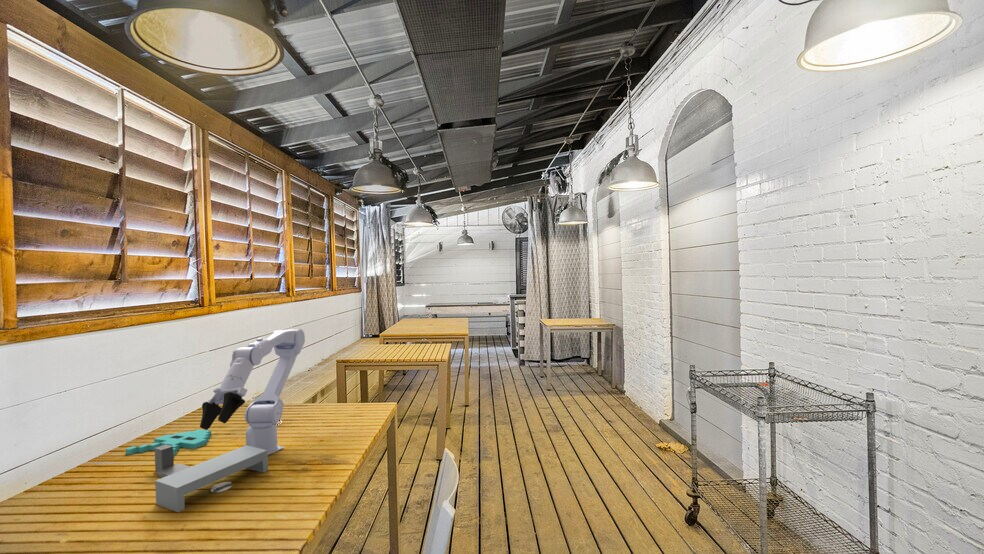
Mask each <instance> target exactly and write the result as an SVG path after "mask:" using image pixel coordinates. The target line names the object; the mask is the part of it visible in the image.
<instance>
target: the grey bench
mask: <svg viewBox="0 0 984 554" xmlns="http://www.w3.org/2000/svg"><path fill="white" fill-rule="evenodd" d="M268 456H269V455H268V454H267V450H264V449H260V448H255V447H251V446H247V445H246V444H245V445H244V446H241V447H239V448H236V449H233V450H230V451H228V452H225V453H222V454H220V455H218V456H216V457H213V458H210V459H208V460H207V459H206V460H205V461H202V462H200V463H197V464H195V465H194V464H193V465H192V466H190V467H189V468H186V469H184V470H181V471H179V472H176V473H174V474H171V475H168V476H166V477H163V478H162V477H160V478H159V479H158V478H157V479H155V480H154V483H155V484H154V485H155V505H157V506H160V507H163V508H166V509H168V510H171V511H173V512H176V513H180V512H182V511H184V510H185V509H186V508H185V507H186V505H185V496H186V495H189V494H190V493H193V492H195V491H197V490H199V489H202V488H204V487H206V486H209V485H210V484H213V483H214V482H215V483H216V482H217V481H220V480H223V479H225V478H227V477H229V476H231V475H233V474H236V473H238V472H240V471H243V470H245V469H248V470H253V471H255V472H256V471H257V472H260V473H262V474H264V473H266V472H267V471H269V458H268Z"/></svg>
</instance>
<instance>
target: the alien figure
mask: <svg viewBox="0 0 984 554" xmlns="http://www.w3.org/2000/svg"><path fill="white" fill-rule="evenodd" d="M211 436H212V430H209V429H208V430H205V429H196V430H193V431H191V430H187V431H185V432H175V433H173V434H169V433H167V434H165V435H161V436H159V437H156V438H153V440H154V441H153V442H154V443H150V444H145V443H144V444H142V445H140V446H134V445H133V446H130V447H127V448H125V455H128V456H131V455H134V454H136V453H141V454H143V453H145V452H148V451H154V452H155V449H154V448H156V447H159V446H162V445H165V444H166V445H170V446H173V459H174V458H175V455H176V454H177V452H178V451H179V450H180V448H184V449H191V450H196V449H199V448H201V447H203V445H204V446H205V445H207V444H208V442H209V440H210V439H211ZM198 447H199V448H198Z"/></svg>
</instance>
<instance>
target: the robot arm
mask: <svg viewBox="0 0 984 554" xmlns="http://www.w3.org/2000/svg"><path fill="white" fill-rule="evenodd" d="M305 340H306V338H305V331H304V330H303V329H302V328H296V329H295V328H294V329H276V330H274V331H272V332H271V334H270V335H269V336H268V337H267V338H263V337H258V338H256V340H255V341H254V342H251V343H248V344H247V346H245V347H239V348H237V349H235V350H234V351H232V355H231V361H230V363H229V367H230V368H229V369H228V371H227V373H226V375H225V376H224V379H223V380H222V383H221V384H220V386H219V387H216V388H214V389H213V391H212V392H213V393H214V394H213V396H212V397H211V398H210V399H209V400H208V401H205V402H203V403H202V405H201V409H202V414H201V415H202V416H201V420H200V423H199V428H201V430H209V429H210V428H211V426H212V425H213V423H214V422H215V420H216V419H217V420H218V421H219V422H221V423H223V424H227V423H228V422H229V420H230V418H232V417H233V415H234V414H235V413H236V412H237V411H238V410H239V408H241V406H243V405H244V404H246V400H245V399H243V397H245V396H246V395H247V393H248V389H247V388H245V385H246V383H247V381H248V379H249V377H250V375H251V373H252V371H253V369H254V366H259V365H260V364H261V363H262V360H263V358H264V357H266V356H268V355H269V354H271V352H272V351H273V350H274V353H275V355H276V356H278V357H279V359H278V361H277V363H276V366H275V367H274V369H273V372H272V374H271V375H270V378H269V381H268V383H267V384H266V387H265V389H264V390H263V393H262V394H261V395H259V396H257V397H255V398H253V399H252V402H250V404H249V405H248V406H247V408H246V410H245V412H244V420H245V422H246V423H247V424H248V425H249V426H248V427H247V428H246V431H245V446H246V445H247V446H251V447H255V448H260V449H264V450H267V454H268V456H269V455H272V454H273V453H276V452H278V451H281V450H282V449H284V446H281V445H278V428H277V427H278V425H277V424H278V423H279V420H280V421H281V419H282V417H283V410H284V407H285V405H284V401H283V399H282V398H280V396H281V394H282V392H283V390H284V387H285V385H286V383H287V382H288V381H287V380H288V378H289V376H290V374H291V371H292V369H293V366H294V364H295V362H296V360H297V357H298V356H299V354H301V352H302V349H303V347H304V345H305ZM273 348H274V349H273ZM220 405H222V407H221V406H220ZM217 417H218V418H217Z"/></svg>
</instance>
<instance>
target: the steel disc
mask: <svg viewBox="0 0 984 554" xmlns="http://www.w3.org/2000/svg"><path fill="white" fill-rule="evenodd" d="M232 487H233V482H232V481H223V482H219V483H216V484H214V485H212V487H211V488H210V492H211V493H214V492H215V493H216V492H217V493H222V492H225V491H228V490H229V489H231V488H232ZM215 493H214V494H215ZM217 493H216V494H217Z"/></svg>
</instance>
